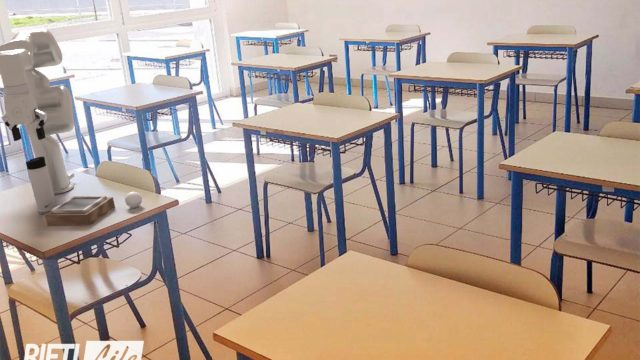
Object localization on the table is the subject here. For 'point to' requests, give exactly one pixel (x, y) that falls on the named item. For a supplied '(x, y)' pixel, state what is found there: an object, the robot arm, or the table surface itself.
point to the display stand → (80, 211)
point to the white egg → (133, 199)
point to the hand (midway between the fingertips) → (29, 139)
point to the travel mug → (41, 185)
